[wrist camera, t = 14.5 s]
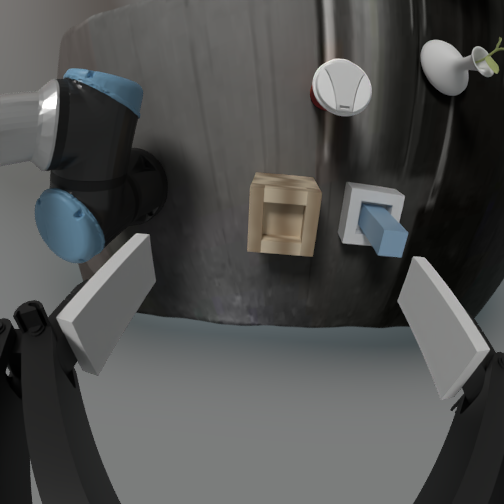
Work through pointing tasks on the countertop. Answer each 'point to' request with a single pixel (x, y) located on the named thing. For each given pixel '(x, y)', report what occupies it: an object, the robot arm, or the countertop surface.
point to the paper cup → (341, 88)
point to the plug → (382, 230)
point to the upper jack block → (283, 214)
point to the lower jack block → (352, 206)
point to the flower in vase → (454, 65)
